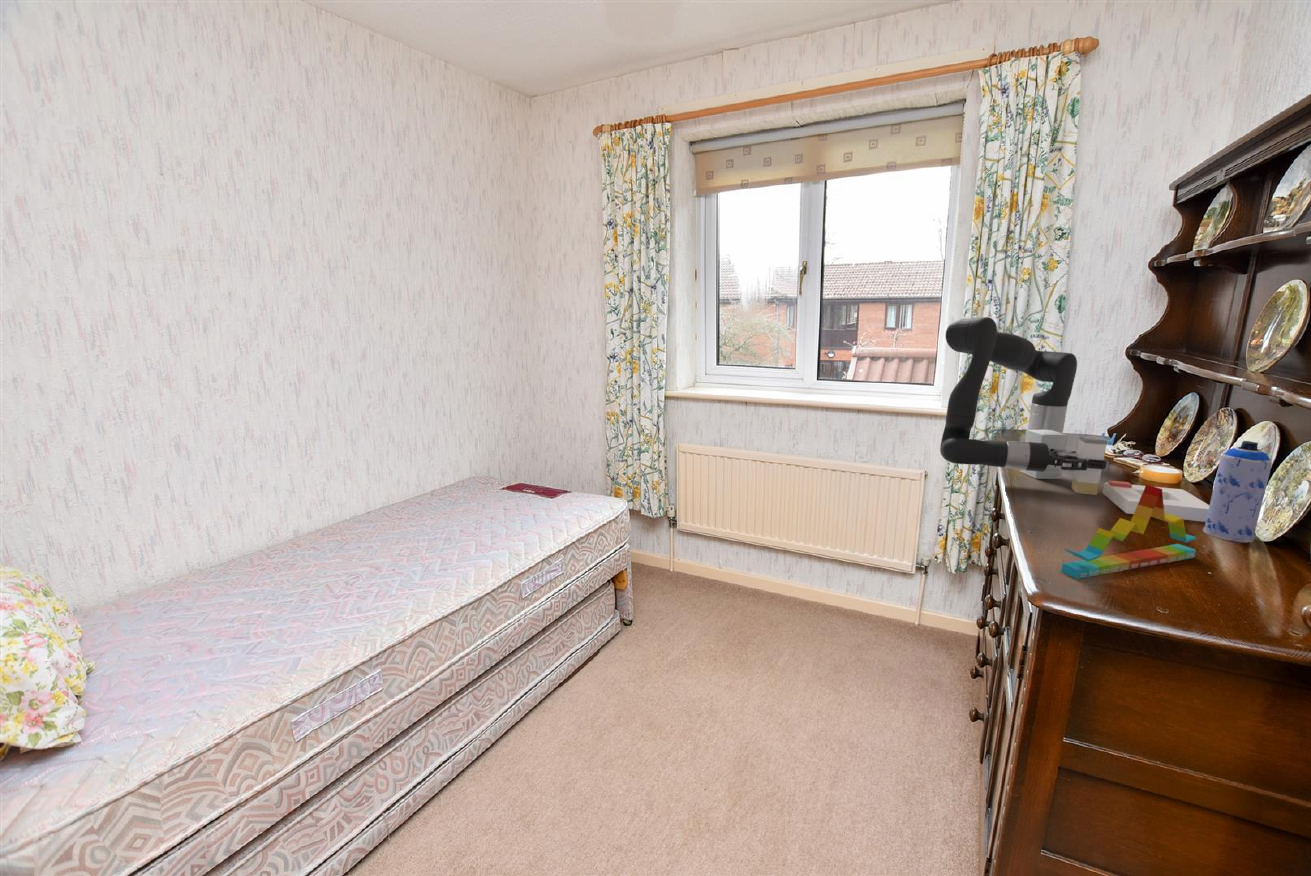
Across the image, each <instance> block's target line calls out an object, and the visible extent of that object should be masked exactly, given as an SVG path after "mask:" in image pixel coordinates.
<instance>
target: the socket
mask: <svg viewBox="0 0 1311 876" xmlns="http://www.w3.org/2000/svg"><path fill="white" fill-rule="evenodd" d="M1145 486H1146V485H1139V484H1131V483H1130V482H1129V481H1119V480H1108V482H1107V481H1104V483H1103V490H1102V494H1103V495H1104V496H1105V497H1106V498H1108V499H1109V500H1110V501H1111V502H1112V503H1113V504H1114V505H1116V506H1117V507H1118V508H1119V509H1120V510H1122V511H1123V512H1124V513H1126V514H1127V515H1128V514H1130V515H1134V512H1135V510H1136V508H1137V505H1138V503H1139V501H1140V498H1141V496H1142V493H1143V491H1144V489H1145ZM1155 487H1156V488H1160V489H1162V494H1163V504H1164V514H1167V513H1168V514H1171V515H1174V516H1178V517H1181V518H1183V521H1193V522H1194V521H1195V522H1203V523H1206V519H1207V514H1208V510H1209V506H1210V504H1208V503H1206V502H1205V501H1203V500H1201V499H1200V498H1197V496H1195V495H1193V494H1191V493H1190V492H1189V491H1188V492H1187V491H1186V490H1185V489H1183V488H1182V489H1181V488H1173V487H1172V488H1170V487H1162V486H1161V487H1160V486H1155Z"/></svg>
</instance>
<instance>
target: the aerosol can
mask: <svg viewBox="0 0 1311 876" xmlns="http://www.w3.org/2000/svg"><path fill="white" fill-rule="evenodd" d="M1258 444H1259V443H1258V442H1254V441H1250V440H1242V442H1241V445H1240V446H1236V447H1234V448H1230V449H1228V450H1226V452H1225V451H1224V452H1222V453H1221V456H1220V457H1219V458H1220V459H1219V463H1218V466H1217V467H1218V468H1217V472H1216V477H1215V480H1214V484H1213V488H1212V492H1211V497H1210V503H1209V505H1210V506H1209V510H1208V514H1207V519H1206V522H1204V523H1205V524H1204V527H1203V528H1202V532H1203V533H1205V534H1206V535H1208V536H1211V537H1213V538H1218V539H1221V540H1225V541H1230V542H1235V543H1236V542H1237V543H1253V542H1255V537H1254V536H1255V533H1256V529H1257V524H1258V522H1259V518H1260V513H1261V511H1262V510H1261V509H1262V506H1263V502H1264V497H1265V493H1266V489H1267V486H1268V481H1269V477H1270V473H1271V470H1272V465H1273V463H1272V461H1273V460H1272V459H1271V458H1270V456H1269V455H1268V453H1266V452H1264V451H1262V450H1261V449H1259V448H1258V446H1259V445H1258Z"/></svg>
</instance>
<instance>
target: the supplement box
mask: <svg viewBox="0 0 1311 876" xmlns="http://www.w3.org/2000/svg"><path fill="white" fill-rule="evenodd" d="M1068 437H1069V434H1065V433H1064V432H1063V433H1059V432H1056V431H1053V430H1028V429H1026V432H1025V438H1024V442H1034V443H1045V444H1047V445H1048V448H1049V451H1050V449H1052V448H1053V449H1058V450H1066V449H1067V443H1068ZM1066 451H1067V450H1066ZM1019 472H1020V473H1022V474H1024V475H1027V476H1029V477H1031V478H1034V479H1035V480H1036V479H1037V480H1038V479H1040V480H1043V479H1044V480H1061V479H1062V474H1063V469H1061V468H1056V467H1054V465H1048V466H1047V468H1046V470H1045V471H1043V472H1038V471H1027V470H1020V471H1019Z"/></svg>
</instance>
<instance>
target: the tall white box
mask: <svg viewBox="0 0 1311 876" xmlns="http://www.w3.org/2000/svg"><path fill="white" fill-rule="evenodd" d="M1108 442H1109V441H1108V439H1106V438H1104V437H1102V436H1095V435H1094V436H1093V435H1081V434H1080V435H1079V442H1078V450H1077V453H1078V454H1077V456H1078V457H1079V458H1087V459H1094V460H1105V455H1106V450H1107V449H1106V447H1107V445H1108ZM1078 465H1082V463H1079V464H1078ZM1102 471H1103V469H1093V468H1088V469H1087V470H1085V471H1084V470H1073V472H1074V473H1073V476H1072V482H1071V489H1072V490H1073V491H1074V492H1075V493H1076V494H1082V495H1083V494H1084V495H1093V496H1097V495H1098V492H1099V486H1100V480H1101V475H1102Z"/></svg>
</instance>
